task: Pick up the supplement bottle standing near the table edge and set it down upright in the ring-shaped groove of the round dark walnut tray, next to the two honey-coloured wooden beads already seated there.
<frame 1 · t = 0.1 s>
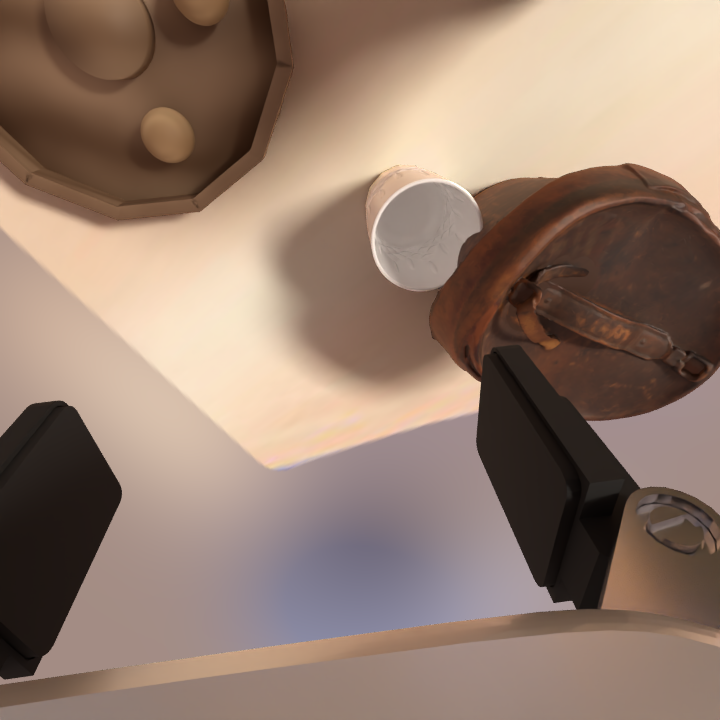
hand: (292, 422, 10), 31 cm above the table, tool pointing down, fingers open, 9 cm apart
groove tray: (115, 29, 30), on the table
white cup: (402, 204, 38), on the table, touching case
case: (504, 246, 41), on the table, touching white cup
bead a: (175, 133, 33), point 1 cm above the table, touching groove tray
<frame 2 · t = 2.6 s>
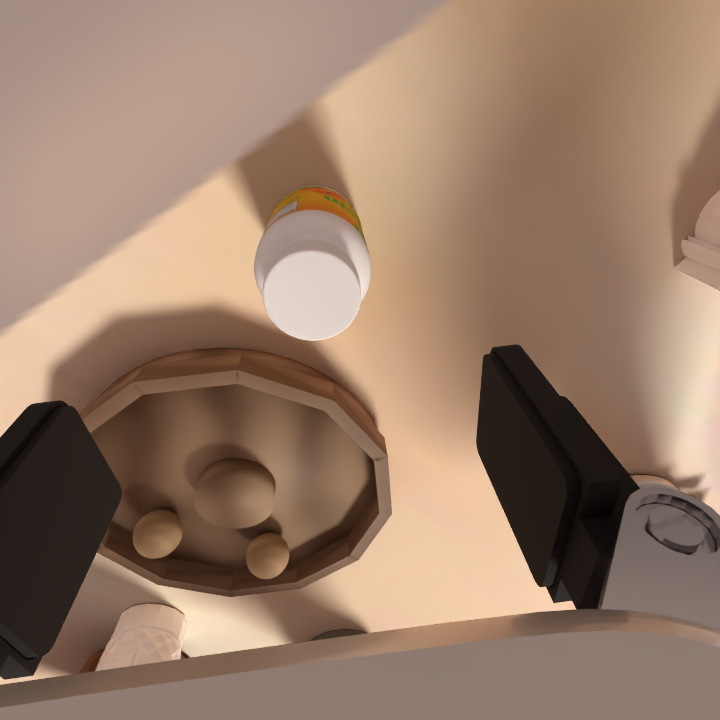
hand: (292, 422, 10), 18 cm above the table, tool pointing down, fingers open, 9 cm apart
groove tray: (240, 473, 35), on the table
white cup: (154, 617, 46), on the table, touching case
supplement bottle: (315, 231, 26), on the table
bead b: (270, 536, 38), point 1 cm above the table, touching groove tray
bead a: (165, 514, 35), point 1 cm above the table, touching groove tray
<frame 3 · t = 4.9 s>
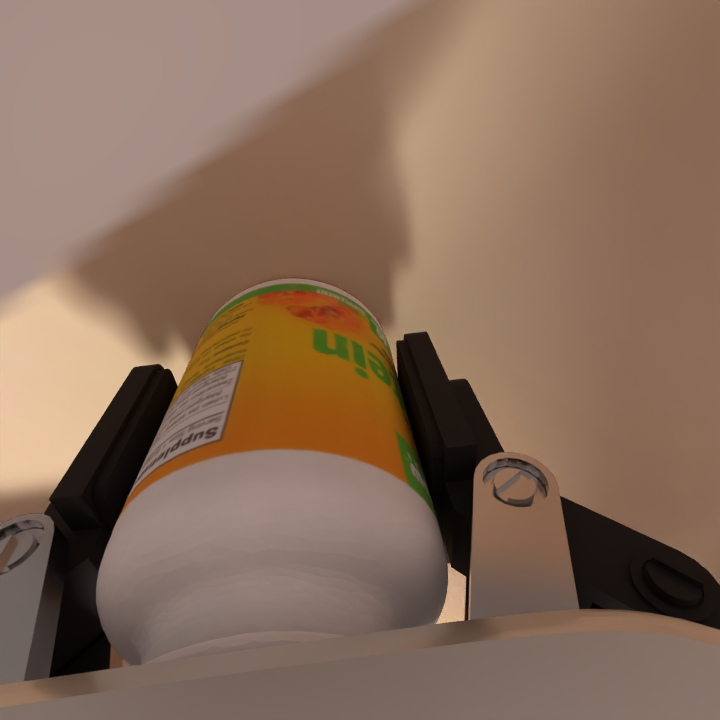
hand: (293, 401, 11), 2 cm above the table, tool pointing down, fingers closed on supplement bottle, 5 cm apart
supplement bottle: (297, 356, 13), on the table, touching gripper
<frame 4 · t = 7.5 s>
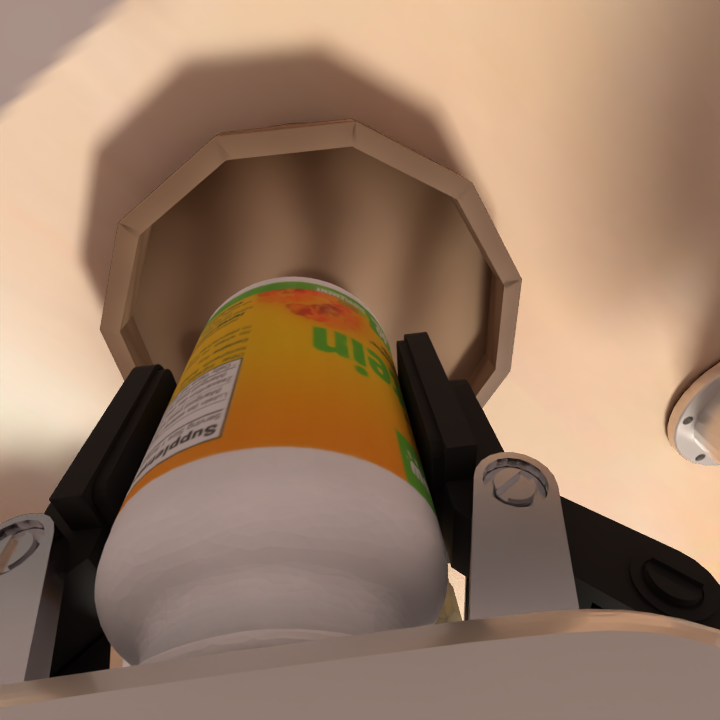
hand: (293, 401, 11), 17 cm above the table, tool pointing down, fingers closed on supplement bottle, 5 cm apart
groove tray: (320, 327, 29), on the table
thermos: (406, 573, 46), on the table
supplement bottle: (297, 355, 13), point 15 cm above the table, touching gripper
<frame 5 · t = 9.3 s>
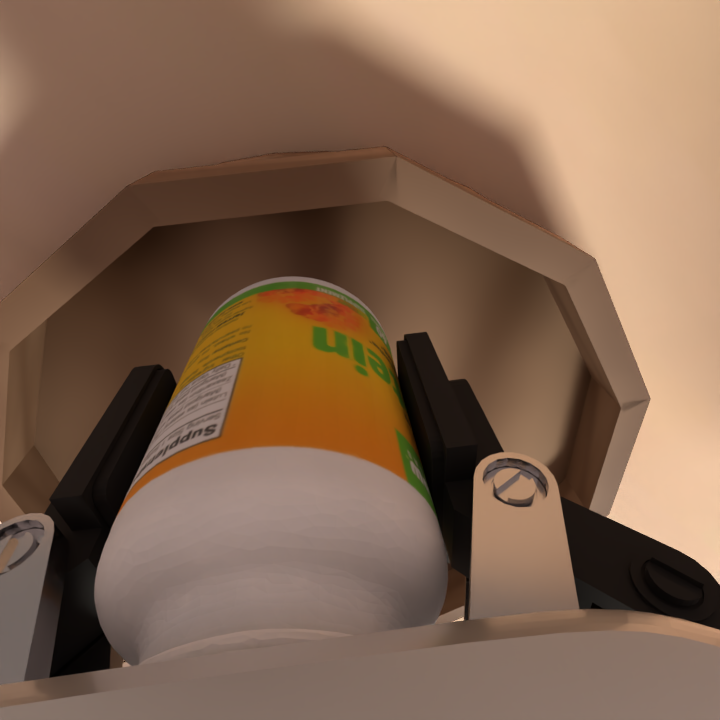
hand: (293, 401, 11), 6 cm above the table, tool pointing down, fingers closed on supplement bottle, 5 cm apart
groove tray: (326, 443, 19), on the table
supplement bottle: (297, 355, 13), point 4 cm above the table, touching gripper
when the fingers open (5 cm above the table, at t = 10.4 s): supplement bottle drops 1 cm, resting on groove tray.
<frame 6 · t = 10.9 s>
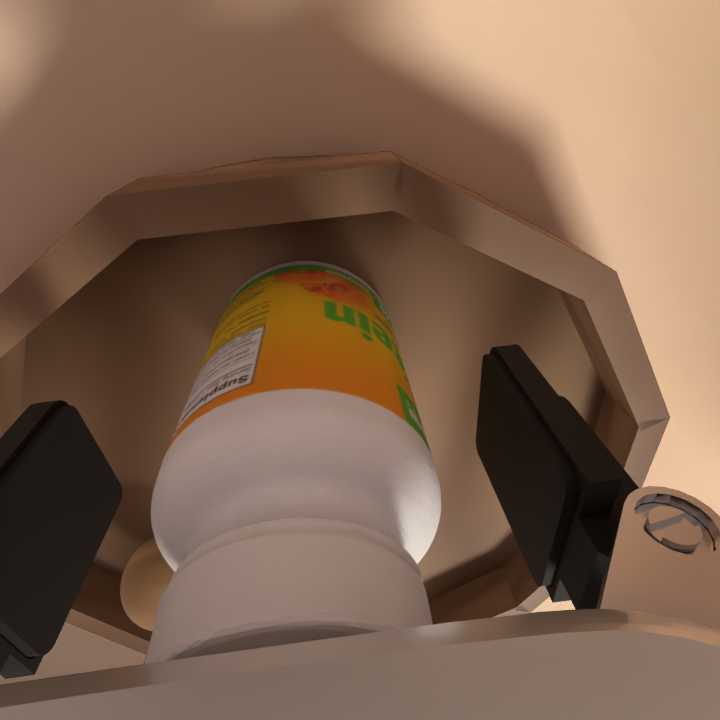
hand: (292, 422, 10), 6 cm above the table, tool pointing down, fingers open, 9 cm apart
groove tray: (325, 460, 19), on the table
supplement bottle: (308, 333, 14), point 1 cm above the table, touching groove tray
bead a: (183, 538, 19), point 1 cm above the table, touching groove tray
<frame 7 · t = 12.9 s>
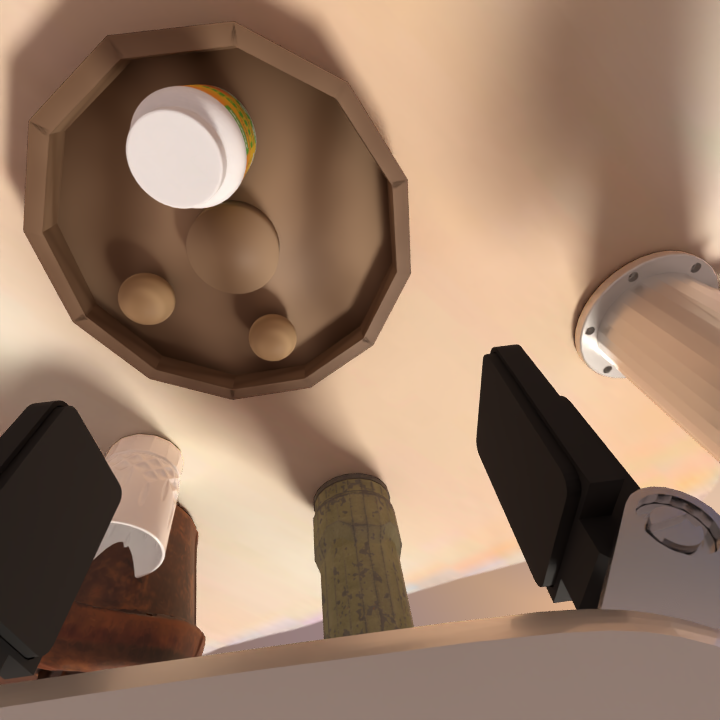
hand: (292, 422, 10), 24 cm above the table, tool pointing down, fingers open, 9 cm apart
groove tray: (238, 238, 31), on the table
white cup: (148, 457, 42), on the table, touching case
thermos: (352, 497, 49), on the table
supplement bottle: (213, 135, 27), point 1 cm above the table, touching groove tray
bead b: (274, 326, 34), point 1 cm above the table, touching groove tray
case: (136, 525, 47), on the table, touching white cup
bead a: (154, 288, 31), point 1 cm above the table, touching groove tray
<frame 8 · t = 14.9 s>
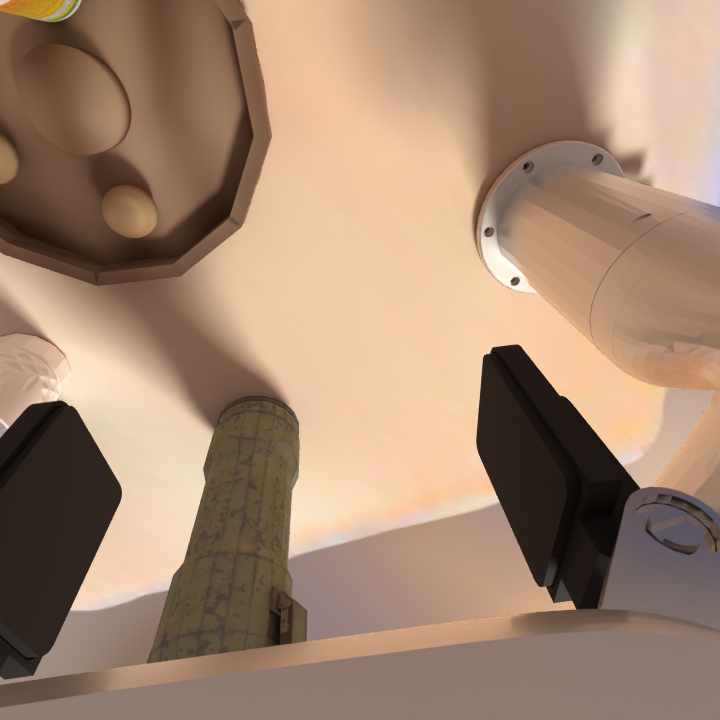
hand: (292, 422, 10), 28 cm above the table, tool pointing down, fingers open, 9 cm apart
groove tray: (91, 101, 30), on the table
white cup: (33, 362, 40), on the table, touching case
thermos: (259, 425, 47), on the table
bead b: (139, 206, 32), point 1 cm above the table, touching groove tray
bead a: (2, 151, 30), point 1 cm above the table, touching groove tray
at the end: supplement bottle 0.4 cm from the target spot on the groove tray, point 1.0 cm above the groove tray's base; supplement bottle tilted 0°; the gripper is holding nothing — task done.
